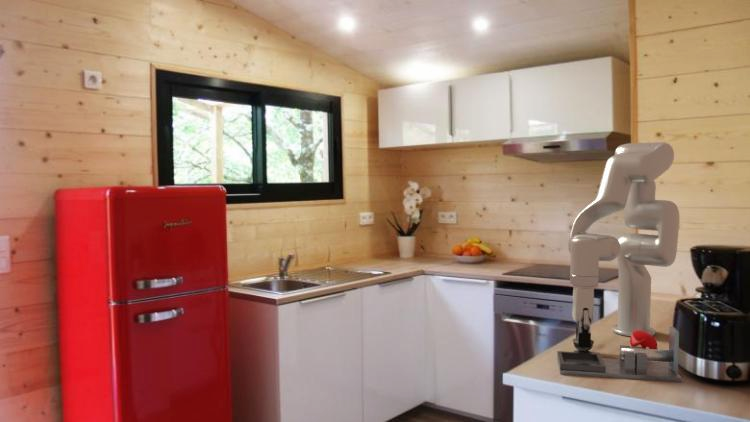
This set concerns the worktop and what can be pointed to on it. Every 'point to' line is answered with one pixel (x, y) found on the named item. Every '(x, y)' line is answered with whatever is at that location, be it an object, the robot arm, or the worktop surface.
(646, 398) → the worktop surface
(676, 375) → the jig
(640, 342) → the cap
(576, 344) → the salt shaker
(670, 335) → the shaft
